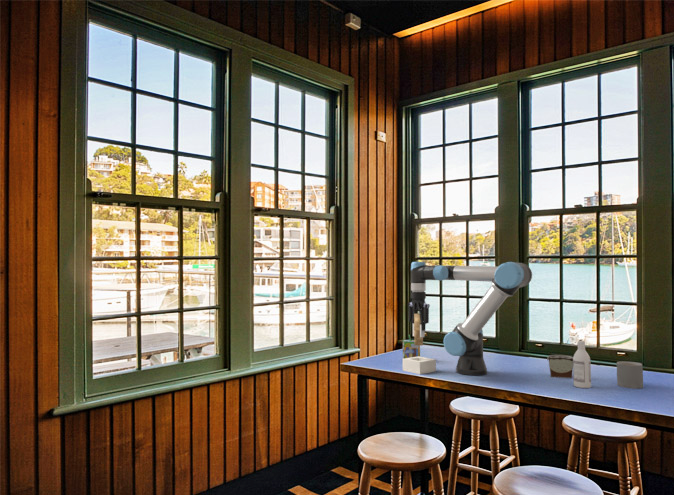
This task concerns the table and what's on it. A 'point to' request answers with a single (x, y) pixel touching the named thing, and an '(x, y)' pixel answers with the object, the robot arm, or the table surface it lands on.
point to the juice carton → (410, 349)
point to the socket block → (419, 365)
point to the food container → (560, 366)
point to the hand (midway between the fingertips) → (418, 336)
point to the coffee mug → (630, 374)
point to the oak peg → (417, 330)
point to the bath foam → (581, 367)
